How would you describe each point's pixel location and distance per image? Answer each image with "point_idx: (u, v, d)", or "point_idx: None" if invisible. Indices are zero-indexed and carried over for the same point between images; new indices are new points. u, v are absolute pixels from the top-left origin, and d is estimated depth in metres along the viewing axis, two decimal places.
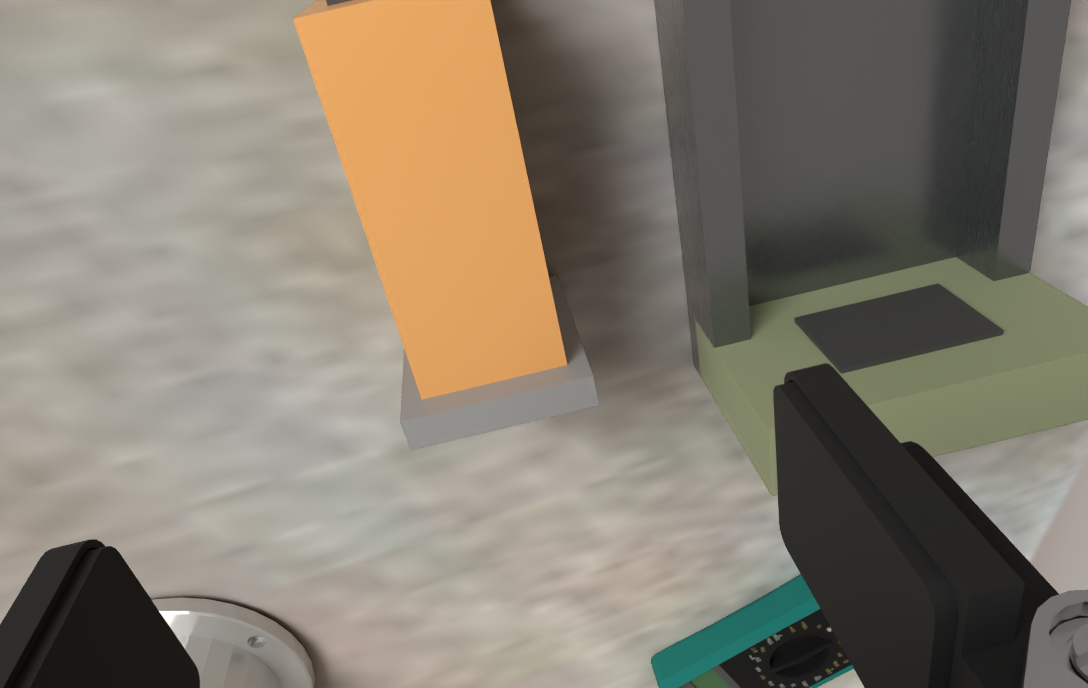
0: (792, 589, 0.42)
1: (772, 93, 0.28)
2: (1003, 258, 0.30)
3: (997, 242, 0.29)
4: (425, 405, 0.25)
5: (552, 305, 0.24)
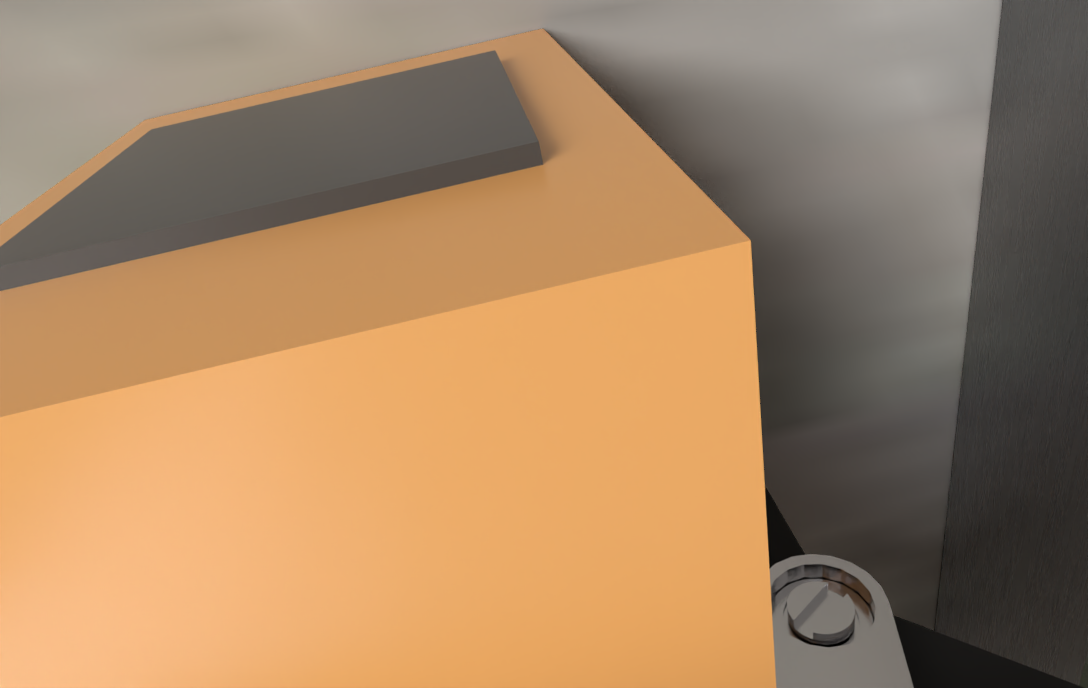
0: None
1: None
2: None
3: None
4: None
5: None
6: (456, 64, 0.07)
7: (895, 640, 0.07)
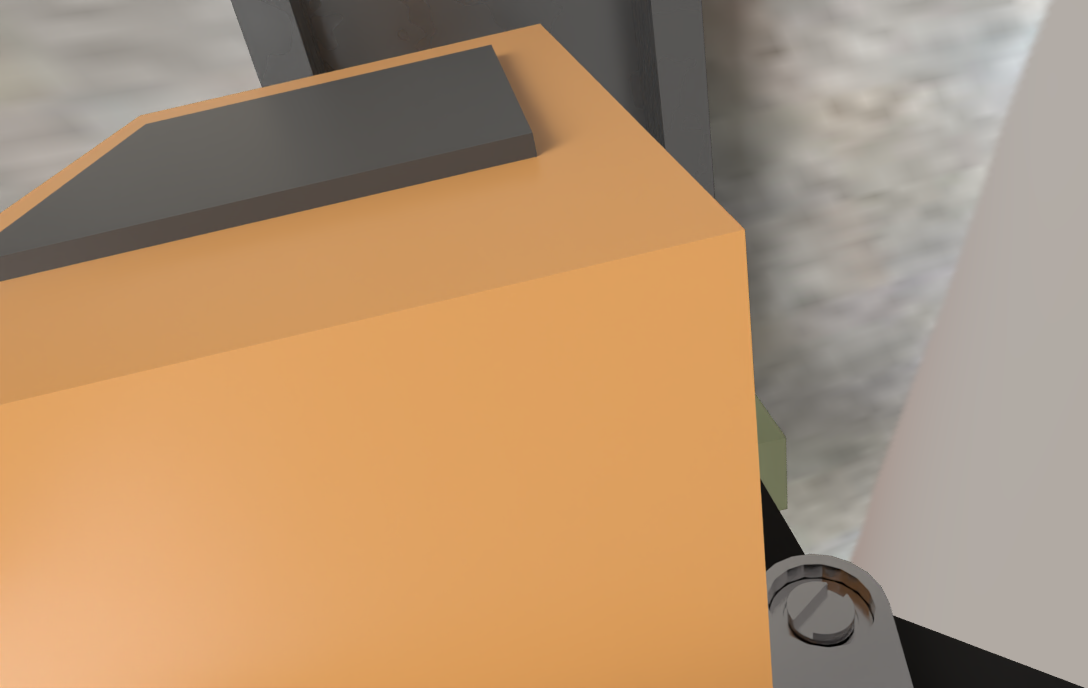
0: None
1: None
2: None
3: None
4: None
5: None
6: (452, 58, 0.07)
7: (895, 640, 0.07)
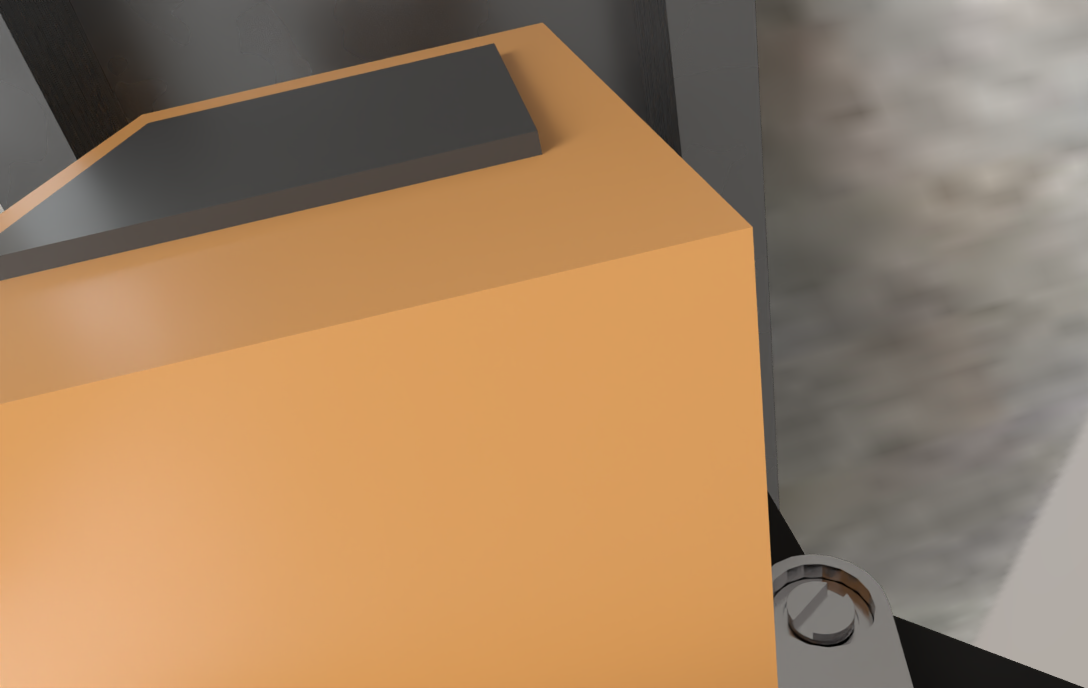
0: None
1: None
2: None
3: None
4: None
5: None
6: (455, 57, 0.07)
7: (895, 640, 0.07)
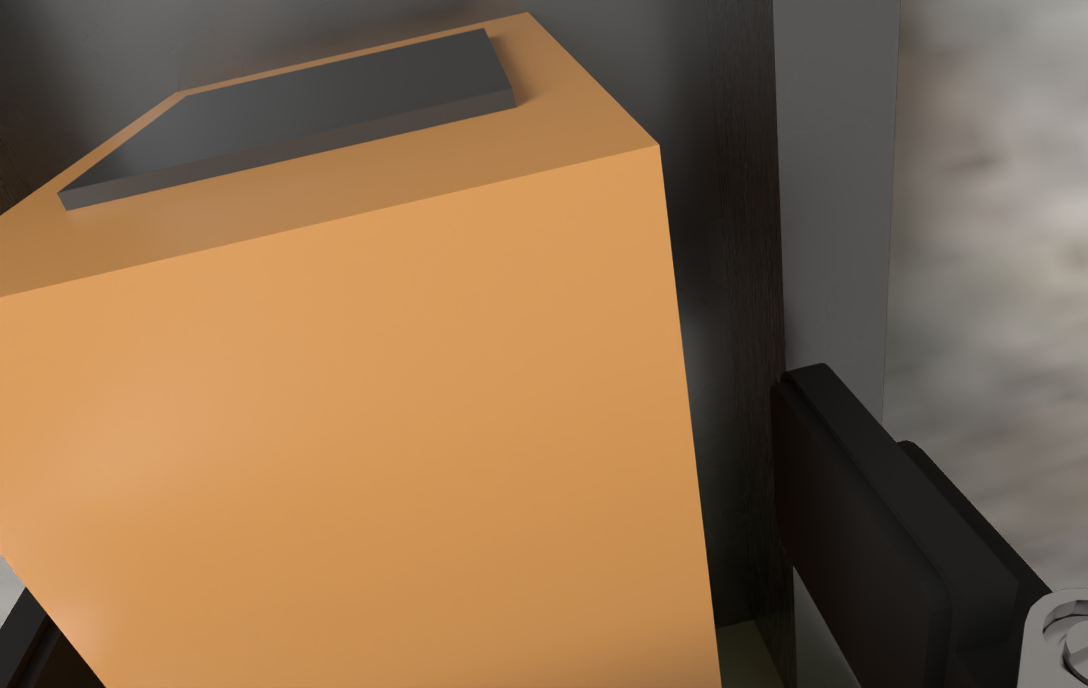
0: None
1: None
2: (812, 686, 0.15)
3: (795, 665, 0.15)
4: None
5: None
6: (450, 39, 0.09)
7: None
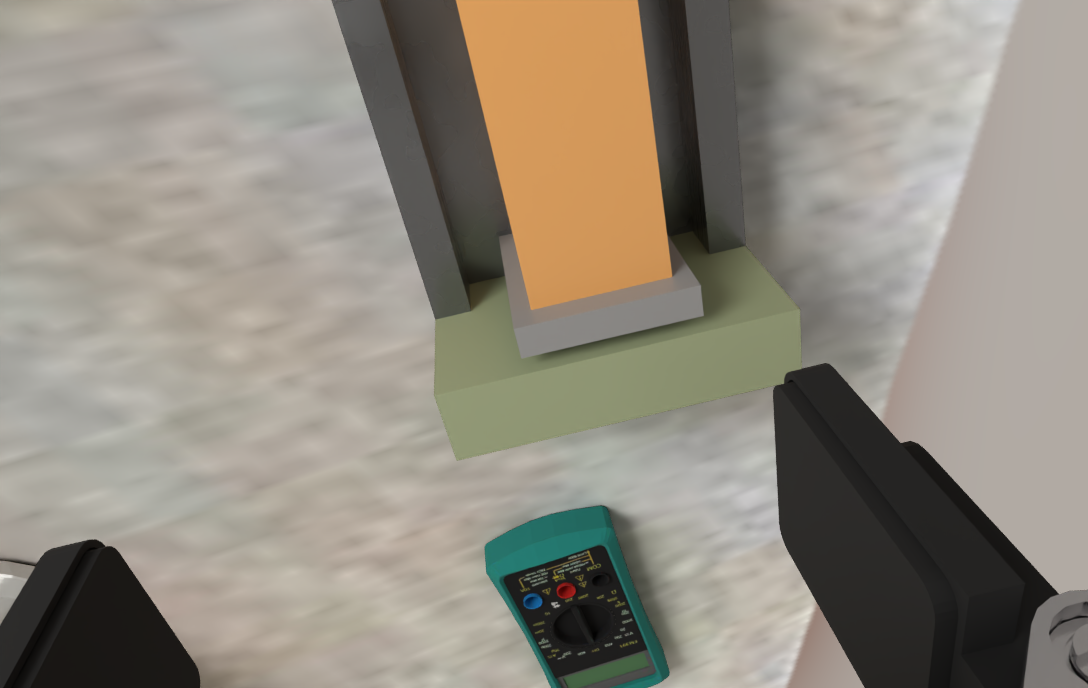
0: None
1: (469, 70, 0.29)
2: (714, 231, 0.30)
3: (705, 216, 0.30)
4: (536, 314, 0.26)
5: (662, 215, 0.25)
6: None
7: None
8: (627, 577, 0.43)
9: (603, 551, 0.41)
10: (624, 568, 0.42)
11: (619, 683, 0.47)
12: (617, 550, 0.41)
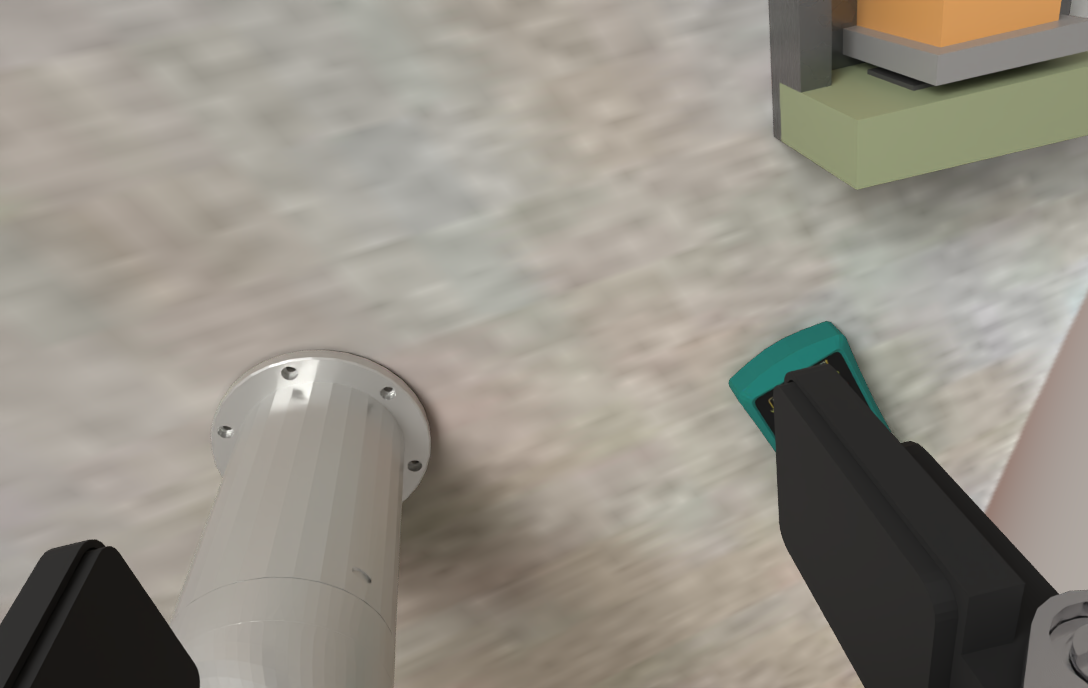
0: None
1: None
2: None
3: None
4: (949, 48, 0.30)
5: None
6: None
7: None
8: (864, 381, 0.47)
9: (839, 357, 0.45)
10: (860, 372, 0.46)
11: None
12: (851, 354, 0.46)
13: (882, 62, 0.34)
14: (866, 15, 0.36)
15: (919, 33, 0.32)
